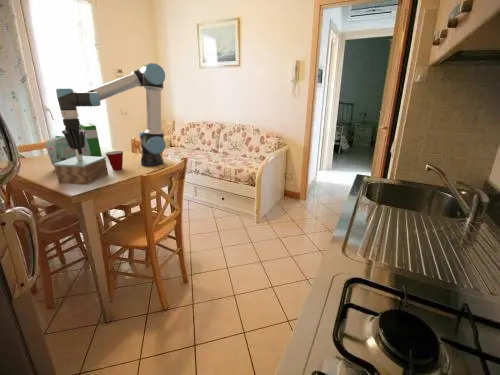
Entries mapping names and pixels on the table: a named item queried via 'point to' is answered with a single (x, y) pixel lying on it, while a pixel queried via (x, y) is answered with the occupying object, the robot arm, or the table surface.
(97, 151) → the hardback book
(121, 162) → the plastic cup
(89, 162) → the pale teal square panel
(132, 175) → the table surface
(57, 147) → the lunch box
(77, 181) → the wooden box
